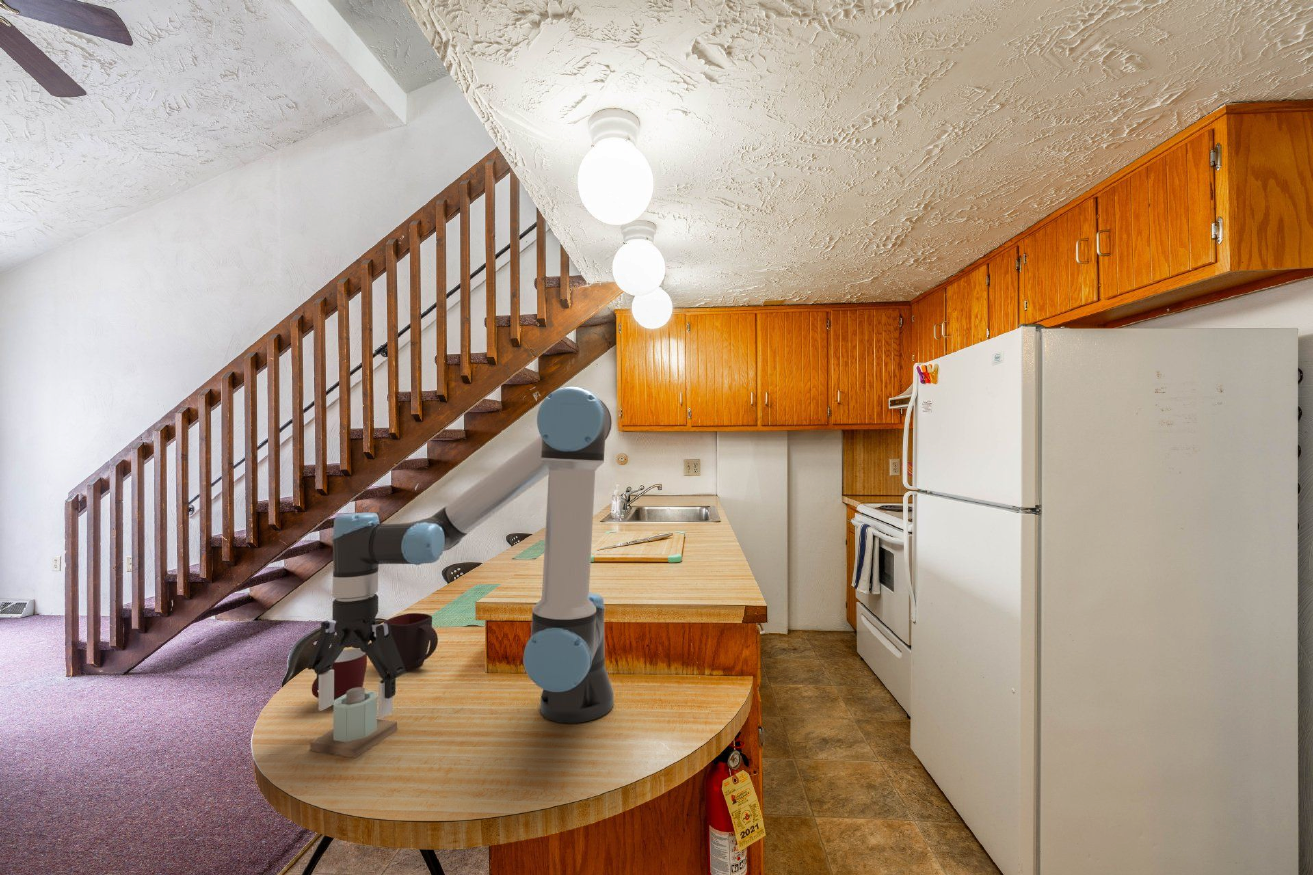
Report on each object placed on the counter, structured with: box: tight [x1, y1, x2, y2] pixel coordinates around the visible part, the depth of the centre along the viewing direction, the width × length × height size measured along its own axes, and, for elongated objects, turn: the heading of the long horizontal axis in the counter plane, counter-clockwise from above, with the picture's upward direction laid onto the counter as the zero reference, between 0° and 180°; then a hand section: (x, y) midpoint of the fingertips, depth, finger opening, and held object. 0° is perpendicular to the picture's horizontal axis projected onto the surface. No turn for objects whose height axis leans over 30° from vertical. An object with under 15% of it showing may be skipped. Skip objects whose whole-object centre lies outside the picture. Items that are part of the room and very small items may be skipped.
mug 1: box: [311, 648, 368, 700], centre depth 114 cm, size 10×8×10 cm
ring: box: [332, 689, 378, 742], centre depth 99 cm, size 7×7×6 cm
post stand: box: [309, 687, 398, 759], centre depth 99 cm, size 10×10×9 cm
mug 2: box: [383, 612, 439, 673], centre depth 133 cm, size 10×14×12 cm
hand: (355, 711), depth 99 cm, fingers open, 13 cm apart
